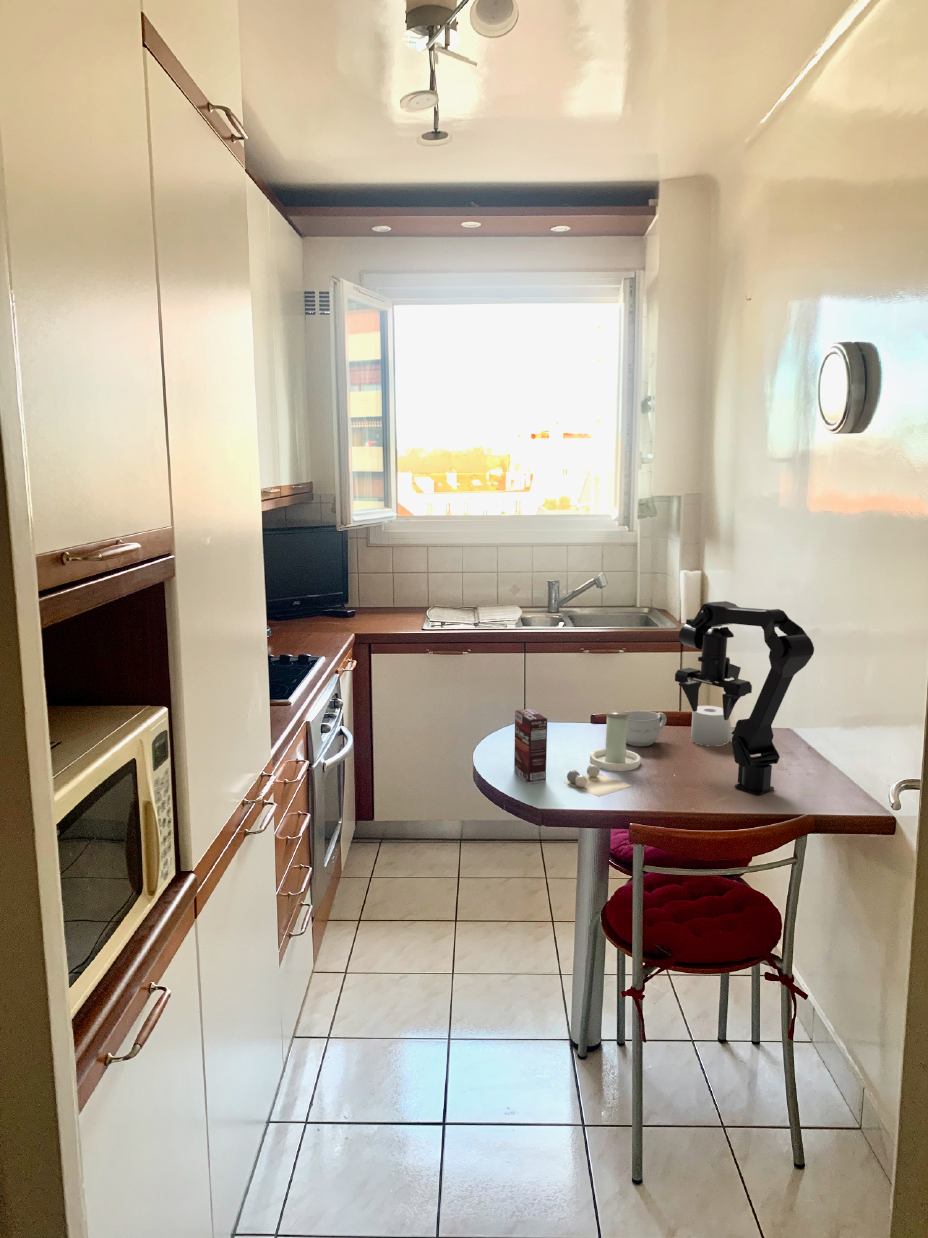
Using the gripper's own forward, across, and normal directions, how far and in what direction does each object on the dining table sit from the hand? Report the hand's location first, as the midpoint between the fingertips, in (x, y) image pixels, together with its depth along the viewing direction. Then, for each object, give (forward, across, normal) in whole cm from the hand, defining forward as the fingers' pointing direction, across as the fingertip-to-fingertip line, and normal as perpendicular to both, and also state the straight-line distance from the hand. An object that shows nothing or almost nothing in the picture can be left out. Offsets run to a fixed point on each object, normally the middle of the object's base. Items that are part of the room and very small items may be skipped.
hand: (710, 715), depth 215 cm
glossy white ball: (+13, +11, +29) cm, 33 cm away
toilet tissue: (+13, +12, -18) cm, 26 cm away
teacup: (+13, +22, -2) cm, 26 cm away
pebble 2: (+13, +8, +36) cm, 39 cm away
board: (+13, +7, +32) cm, 35 cm away
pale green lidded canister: (+12, +15, +17) cm, 26 cm away
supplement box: (+13, +20, +41) cm, 47 cm away
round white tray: (+13, +15, +17) cm, 26 cm away
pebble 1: (+13, +11, +36) cm, 39 cm away
